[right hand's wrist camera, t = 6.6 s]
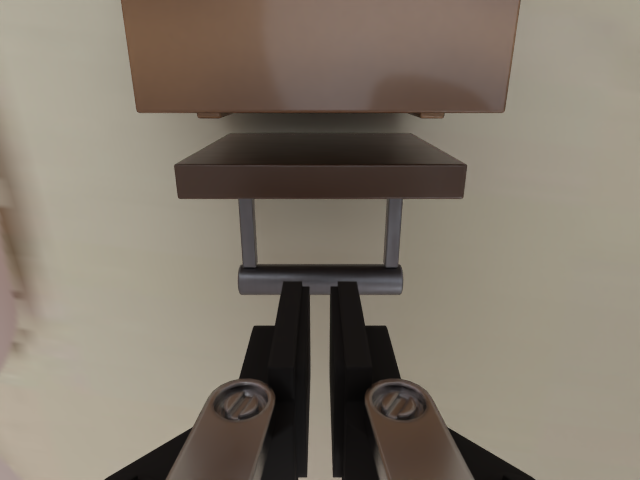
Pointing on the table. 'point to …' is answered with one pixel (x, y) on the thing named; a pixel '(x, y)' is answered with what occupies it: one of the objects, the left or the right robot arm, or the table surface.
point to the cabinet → (320, 55)
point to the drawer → (320, 192)
